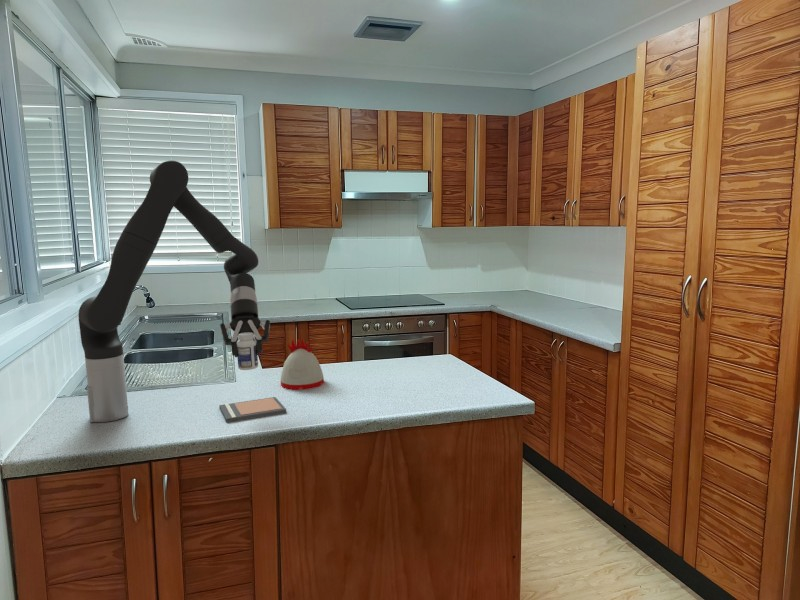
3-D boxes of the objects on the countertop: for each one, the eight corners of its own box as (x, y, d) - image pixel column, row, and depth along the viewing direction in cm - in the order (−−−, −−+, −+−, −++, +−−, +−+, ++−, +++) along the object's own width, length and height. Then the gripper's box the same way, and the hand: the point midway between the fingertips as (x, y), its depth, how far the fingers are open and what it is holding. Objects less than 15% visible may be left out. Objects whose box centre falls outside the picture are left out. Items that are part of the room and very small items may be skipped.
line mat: (226, 422, 147) (226, 418, 147) (219, 408, 159) (219, 404, 158) (286, 412, 154) (286, 408, 154) (275, 400, 165) (275, 396, 165)
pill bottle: (250, 364, 159) (248, 331, 157) (262, 367, 155) (259, 333, 154) (234, 368, 155) (231, 334, 153) (245, 371, 151) (243, 336, 150)
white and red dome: (286, 378, 190) (284, 335, 188) (326, 378, 189) (325, 334, 187) (276, 390, 176) (273, 343, 174) (319, 389, 176) (317, 343, 174)
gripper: (217, 299, 157) (218, 349, 148) (269, 296, 161) (274, 345, 152) (219, 315, 163) (221, 364, 154) (269, 311, 167) (274, 359, 157)
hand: (247, 354), depth 153 cm, fingers closed on pill bottle, 5 cm apart
